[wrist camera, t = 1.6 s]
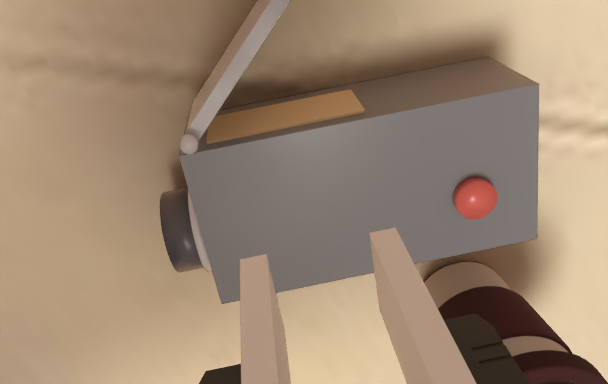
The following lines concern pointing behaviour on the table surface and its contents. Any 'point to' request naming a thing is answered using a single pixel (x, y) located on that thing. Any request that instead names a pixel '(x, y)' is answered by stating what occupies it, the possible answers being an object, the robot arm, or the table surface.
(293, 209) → the camera box
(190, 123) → the side door
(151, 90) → the table surface
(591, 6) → the table surface
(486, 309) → the coffee cup
